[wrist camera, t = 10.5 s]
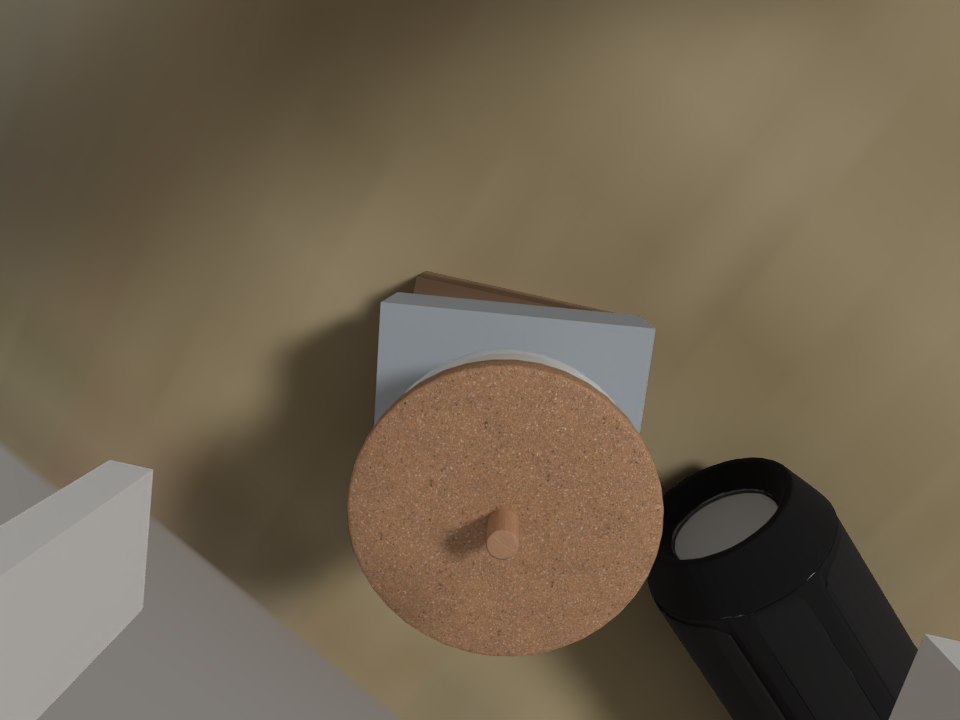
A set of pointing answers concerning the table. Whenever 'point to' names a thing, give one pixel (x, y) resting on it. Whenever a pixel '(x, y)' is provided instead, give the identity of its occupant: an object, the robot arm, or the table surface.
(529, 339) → the tower top
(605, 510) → the lidded jar
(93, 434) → the table surface
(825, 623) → the portable speaker
